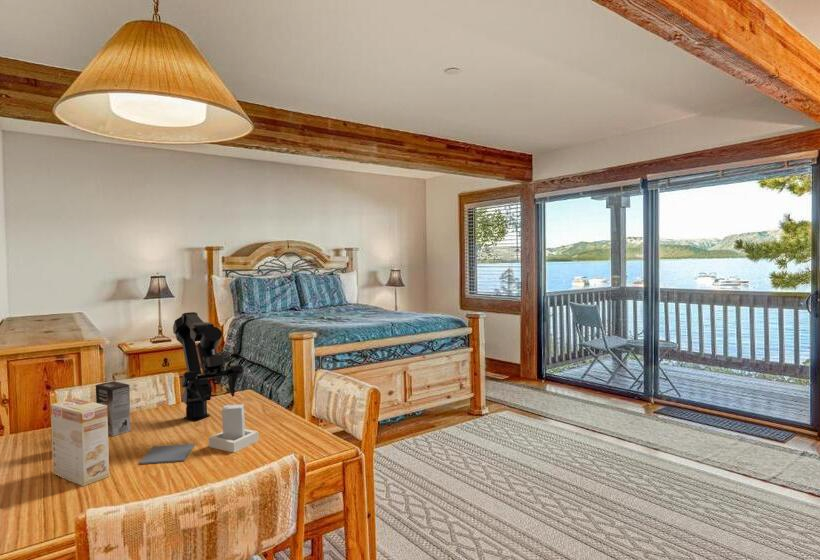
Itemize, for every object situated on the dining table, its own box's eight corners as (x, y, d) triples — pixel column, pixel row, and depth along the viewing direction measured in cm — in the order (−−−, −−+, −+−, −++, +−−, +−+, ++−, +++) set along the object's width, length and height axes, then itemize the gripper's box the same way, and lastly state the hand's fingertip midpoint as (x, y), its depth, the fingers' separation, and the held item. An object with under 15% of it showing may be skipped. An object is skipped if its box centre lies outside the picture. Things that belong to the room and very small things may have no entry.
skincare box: (245, 440, 156) (244, 403, 155) (243, 446, 151) (242, 407, 151) (225, 441, 155) (224, 404, 154) (222, 447, 150) (221, 408, 150)
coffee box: (96, 432, 163) (94, 384, 162) (115, 426, 169) (113, 380, 168) (112, 437, 159) (110, 388, 158) (131, 430, 164) (130, 383, 164)
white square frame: (234, 435, 160) (233, 426, 160) (258, 440, 155) (258, 431, 155) (208, 447, 150) (208, 437, 150) (234, 452, 146) (234, 443, 146)
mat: (153, 448, 150) (153, 446, 150) (194, 445, 152) (194, 443, 152) (138, 464, 138) (138, 462, 138) (183, 461, 140) (183, 459, 140)
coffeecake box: (110, 476, 131) (108, 404, 130) (82, 487, 124) (79, 412, 123) (80, 464, 138) (77, 397, 137) (51, 474, 131) (49, 403, 130)
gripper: (183, 347, 152) (193, 392, 145) (242, 341, 164) (254, 382, 157) (177, 365, 159) (186, 408, 152) (234, 357, 171) (245, 397, 164)
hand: (218, 398), depth 156 cm, fingers open, 9 cm apart
